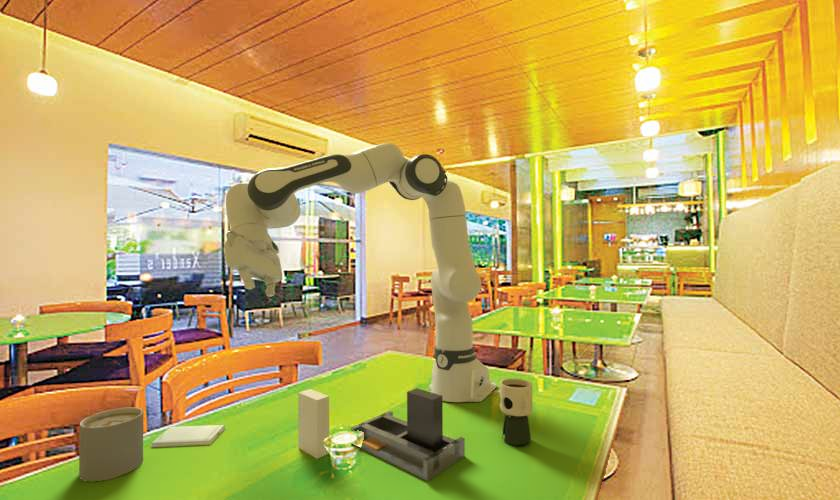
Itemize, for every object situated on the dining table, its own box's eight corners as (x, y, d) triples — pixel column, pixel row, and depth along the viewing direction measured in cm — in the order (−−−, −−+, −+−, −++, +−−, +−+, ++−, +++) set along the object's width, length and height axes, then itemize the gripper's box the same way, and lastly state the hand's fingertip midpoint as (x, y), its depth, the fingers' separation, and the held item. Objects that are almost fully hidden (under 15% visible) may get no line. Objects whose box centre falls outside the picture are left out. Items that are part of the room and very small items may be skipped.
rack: (390, 426, 96) (389, 371, 96) (464, 456, 81) (464, 392, 82) (351, 444, 87) (351, 384, 87) (427, 481, 72) (427, 409, 72)
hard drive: (151, 442, 86) (210, 439, 87) (171, 426, 94) (225, 423, 95) (151, 450, 86) (210, 447, 87) (171, 432, 94) (225, 430, 95)
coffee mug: (132, 476, 75) (132, 423, 75) (67, 486, 71) (68, 431, 72) (155, 444, 87) (155, 399, 87) (101, 451, 84) (101, 404, 84)
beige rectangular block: (310, 442, 88) (310, 388, 88) (329, 453, 83) (329, 396, 83) (298, 447, 85) (298, 392, 85) (317, 458, 81) (316, 400, 81)
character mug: (491, 432, 92) (491, 376, 92) (519, 428, 94) (518, 374, 94) (513, 455, 82) (512, 392, 82) (543, 451, 83) (543, 389, 84)
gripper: (238, 223, 90) (249, 278, 86) (281, 249, 110) (291, 295, 105) (213, 232, 90) (222, 287, 86) (260, 257, 110) (270, 303, 105)
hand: (261, 292), depth 96 cm, fingers open, 8 cm apart
